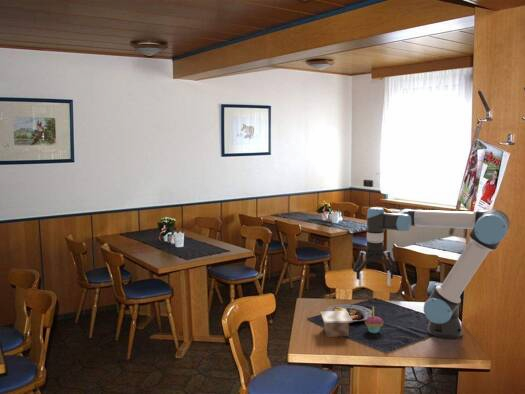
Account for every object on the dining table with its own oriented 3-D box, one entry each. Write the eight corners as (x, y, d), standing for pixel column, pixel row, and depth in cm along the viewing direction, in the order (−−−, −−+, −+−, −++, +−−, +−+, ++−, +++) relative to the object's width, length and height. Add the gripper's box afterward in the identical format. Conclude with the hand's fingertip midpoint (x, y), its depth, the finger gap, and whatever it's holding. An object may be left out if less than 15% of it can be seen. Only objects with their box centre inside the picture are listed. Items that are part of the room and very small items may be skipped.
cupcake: (362, 328, 249) (362, 304, 248) (379, 327, 250) (380, 303, 249) (368, 335, 241) (368, 310, 239) (386, 334, 242) (386, 309, 240)
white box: (347, 326, 252) (347, 310, 251) (352, 337, 239) (352, 320, 238) (320, 327, 251) (320, 311, 250) (324, 338, 238) (324, 321, 237)
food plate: (369, 326, 251) (369, 319, 251) (321, 323, 257) (321, 316, 257) (373, 310, 275) (373, 304, 275) (329, 307, 281) (329, 301, 281)
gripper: (399, 238, 244) (398, 282, 247) (346, 239, 243) (346, 283, 246) (404, 242, 236) (403, 287, 239) (349, 243, 236) (349, 288, 239)
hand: (374, 285), depth 243 cm, fingers open, 13 cm apart
